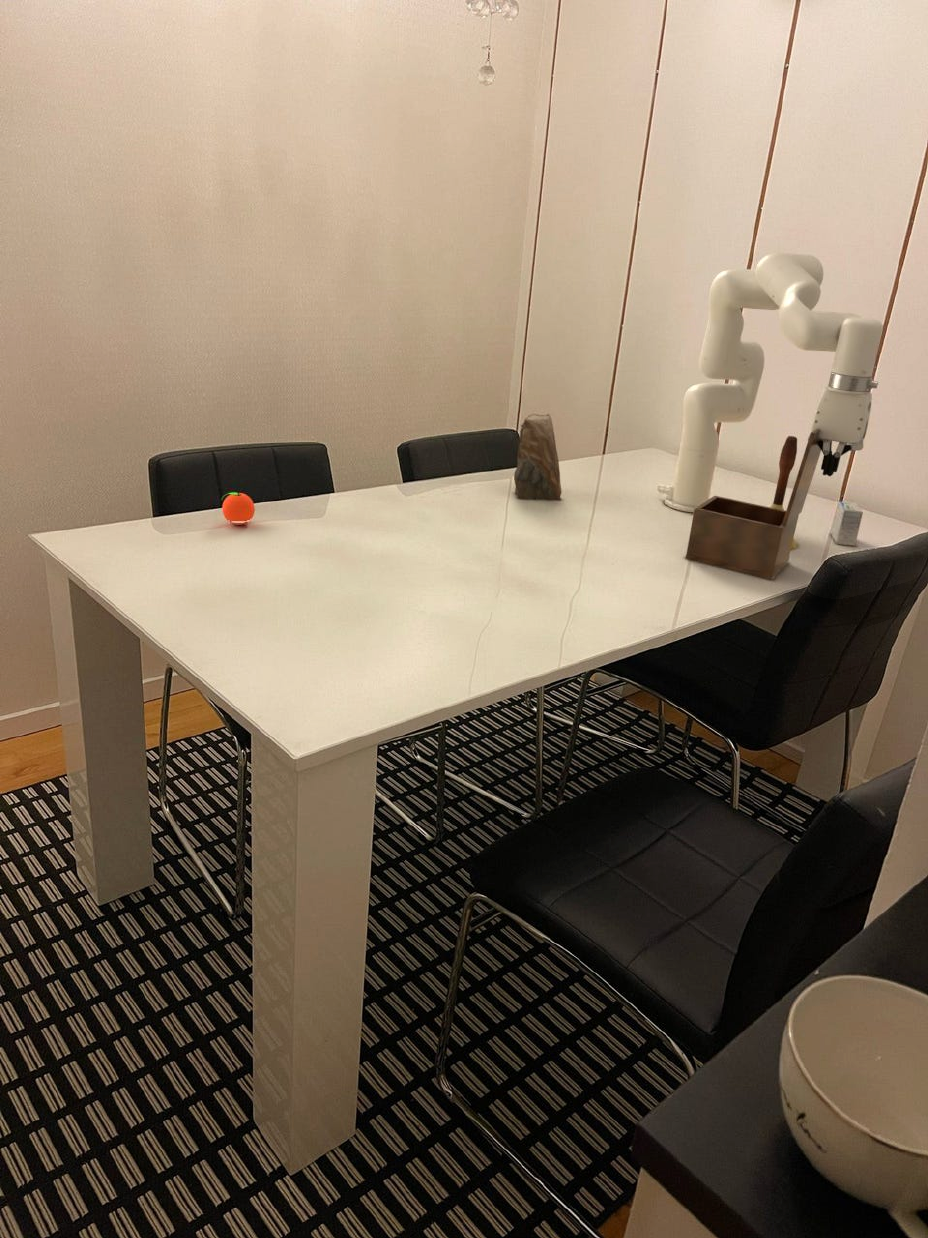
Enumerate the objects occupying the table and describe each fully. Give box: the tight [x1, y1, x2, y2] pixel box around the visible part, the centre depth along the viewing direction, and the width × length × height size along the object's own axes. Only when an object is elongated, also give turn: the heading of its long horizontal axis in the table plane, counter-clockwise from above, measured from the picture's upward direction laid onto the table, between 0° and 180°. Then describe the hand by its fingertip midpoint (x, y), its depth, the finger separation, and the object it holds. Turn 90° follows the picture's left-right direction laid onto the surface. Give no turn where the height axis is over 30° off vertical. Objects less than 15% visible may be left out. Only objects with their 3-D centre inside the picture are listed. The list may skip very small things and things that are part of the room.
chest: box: [685, 495, 800, 581], centre depth 205 cm, size 19×14×12 cm
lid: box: [782, 429, 822, 527], centre depth 194 cm, size 20×14×1 cm
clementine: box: [220, 492, 256, 526], centre depth 204 cm, size 8×7×7 cm
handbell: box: [770, 435, 798, 550], centre depth 217 cm, size 12×12×25 cm
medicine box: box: [831, 501, 864, 547], centre depth 225 cm, size 8×4×9 cm, turn 168°
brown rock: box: [513, 413, 562, 501], centre depth 241 cm, size 13×13×20 cm
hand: (827, 474), depth 192 cm, fingers closed
